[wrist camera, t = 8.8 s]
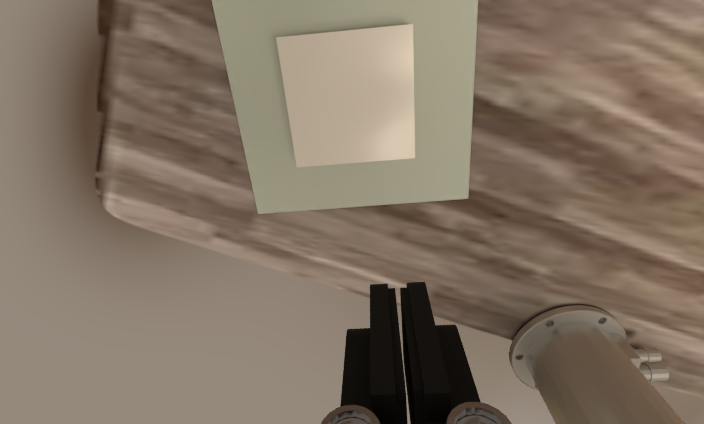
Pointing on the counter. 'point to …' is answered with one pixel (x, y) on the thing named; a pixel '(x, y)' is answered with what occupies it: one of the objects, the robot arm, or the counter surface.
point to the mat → (365, 177)
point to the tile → (350, 95)
